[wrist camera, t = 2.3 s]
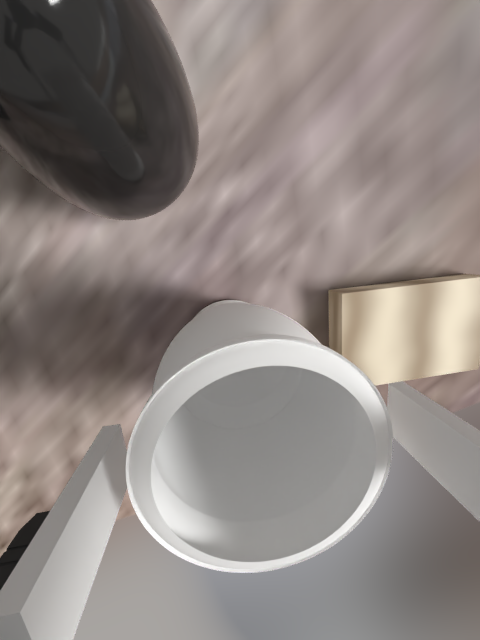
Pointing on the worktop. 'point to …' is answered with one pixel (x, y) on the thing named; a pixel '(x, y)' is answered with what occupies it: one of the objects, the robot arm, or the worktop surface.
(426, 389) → the worktop surface
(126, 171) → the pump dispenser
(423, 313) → the birch trivet
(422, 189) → the worktop surface
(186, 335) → the white cup
